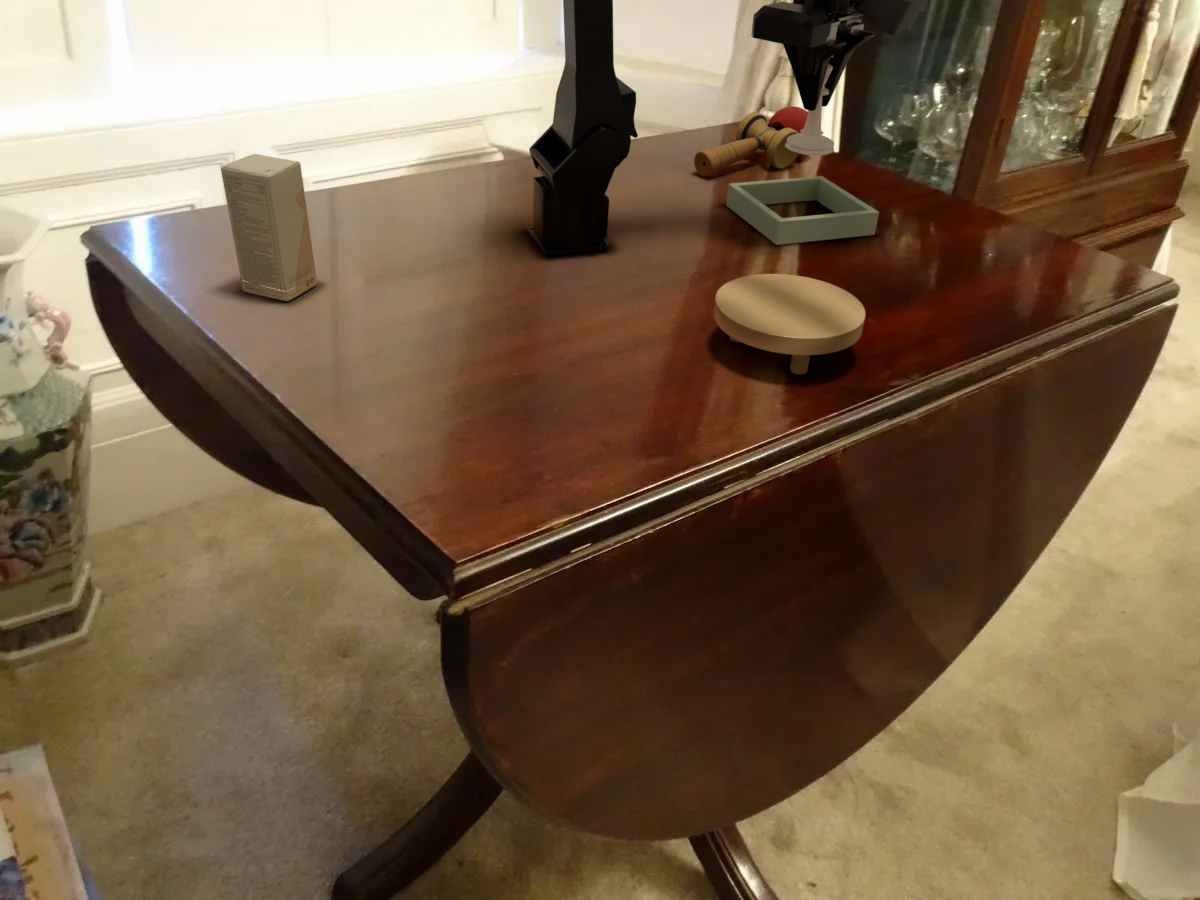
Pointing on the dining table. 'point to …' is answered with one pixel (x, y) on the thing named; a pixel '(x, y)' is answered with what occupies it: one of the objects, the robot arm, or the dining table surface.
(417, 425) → the dining table surface
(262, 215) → the box
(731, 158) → the kendama
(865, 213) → the square frame
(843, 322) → the stool
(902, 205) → the dining table surface
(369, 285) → the dining table surface
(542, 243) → the robot arm
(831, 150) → the chess piece
